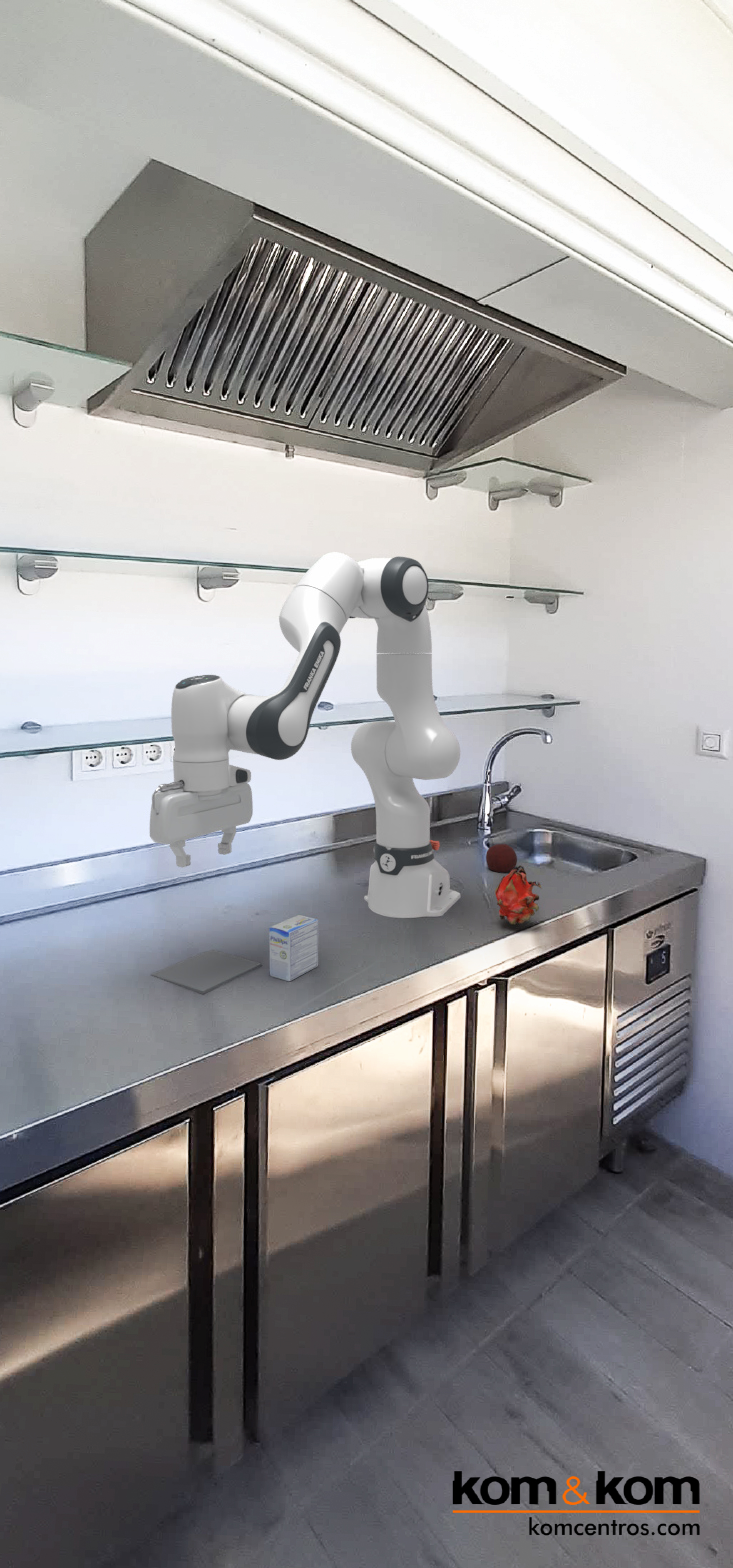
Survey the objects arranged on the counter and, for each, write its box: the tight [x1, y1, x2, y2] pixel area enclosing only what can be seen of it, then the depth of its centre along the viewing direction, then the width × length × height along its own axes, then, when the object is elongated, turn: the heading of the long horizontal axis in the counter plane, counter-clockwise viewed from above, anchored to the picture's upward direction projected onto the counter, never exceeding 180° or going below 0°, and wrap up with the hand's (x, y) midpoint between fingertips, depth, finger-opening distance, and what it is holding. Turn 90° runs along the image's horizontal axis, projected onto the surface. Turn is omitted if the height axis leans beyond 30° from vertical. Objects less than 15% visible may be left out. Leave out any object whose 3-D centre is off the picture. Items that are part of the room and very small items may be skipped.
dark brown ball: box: [485, 843, 518, 873], centre depth 201 cm, size 7×8×7 cm
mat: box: [150, 949, 263, 995], centre depth 139 cm, size 14×12×1 cm
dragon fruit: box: [494, 865, 542, 926], centre depth 162 cm, size 8×8×12 cm
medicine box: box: [268, 914, 319, 982], centre depth 138 cm, size 8×4×9 cm, turn 146°
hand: (204, 859), depth 136 cm, fingers open, 8 cm apart
